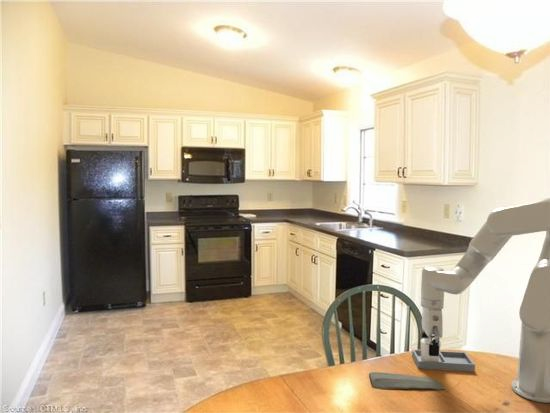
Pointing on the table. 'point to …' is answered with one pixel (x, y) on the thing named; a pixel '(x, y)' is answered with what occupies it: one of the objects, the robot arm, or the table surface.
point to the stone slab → (402, 381)
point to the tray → (445, 361)
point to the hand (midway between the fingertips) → (429, 349)
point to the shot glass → (427, 350)
